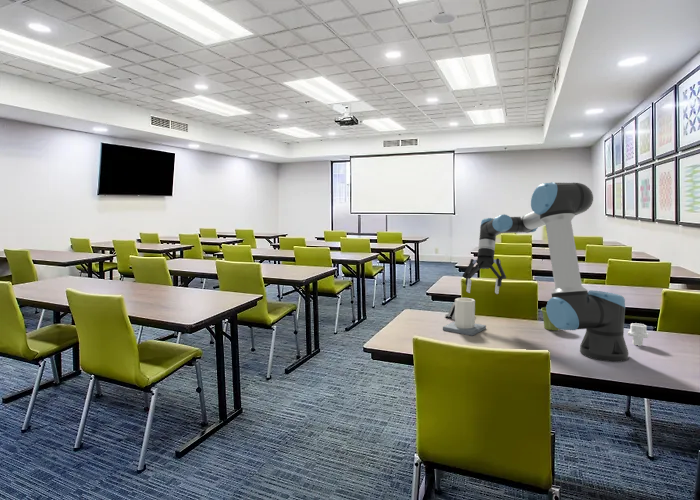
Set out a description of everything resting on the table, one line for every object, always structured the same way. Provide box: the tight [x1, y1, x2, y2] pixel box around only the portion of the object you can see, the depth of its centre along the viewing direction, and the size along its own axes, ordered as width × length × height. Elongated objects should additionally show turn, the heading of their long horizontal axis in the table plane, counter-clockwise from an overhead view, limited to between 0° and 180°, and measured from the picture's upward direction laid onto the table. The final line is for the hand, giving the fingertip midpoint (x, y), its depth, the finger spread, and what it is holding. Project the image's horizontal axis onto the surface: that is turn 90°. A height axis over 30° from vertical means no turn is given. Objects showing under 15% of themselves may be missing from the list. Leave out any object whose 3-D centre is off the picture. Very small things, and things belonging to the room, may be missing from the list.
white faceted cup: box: [454, 297, 476, 329], centre depth 185 cm, size 8×8×12 cm
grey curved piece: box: [444, 301, 455, 320], centre depth 210 cm, size 17×5×10 cm, turn 140°
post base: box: [442, 321, 487, 337], centre depth 186 cm, size 14×14×10 cm
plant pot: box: [540, 307, 560, 332], centre depth 185 cm, size 9×9×9 cm
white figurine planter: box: [627, 322, 649, 347], centre depth 162 cm, size 6×7×8 cm
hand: (482, 292), depth 194 cm, fingers open, 13 cm apart
